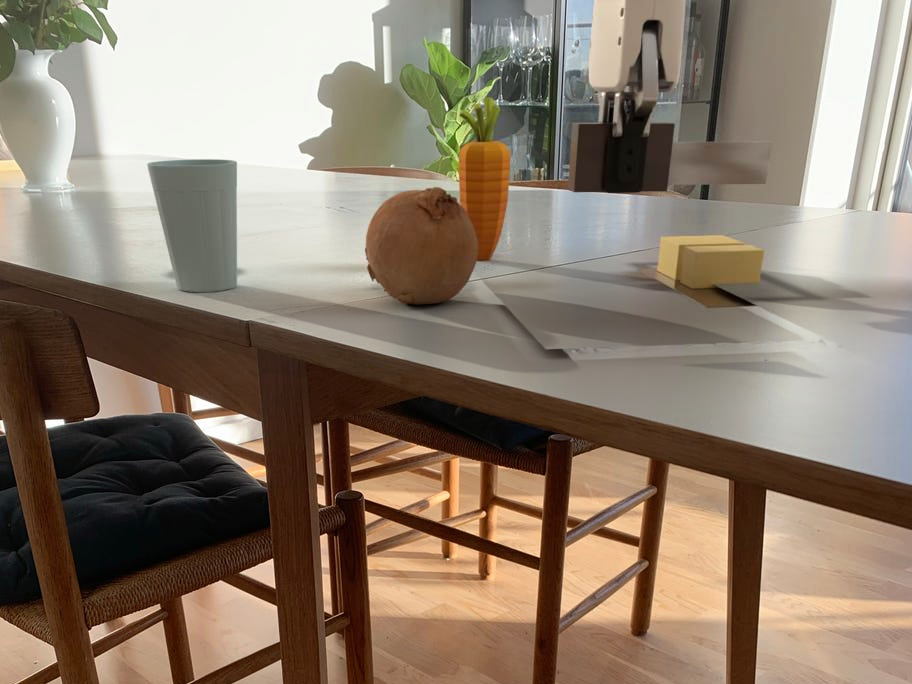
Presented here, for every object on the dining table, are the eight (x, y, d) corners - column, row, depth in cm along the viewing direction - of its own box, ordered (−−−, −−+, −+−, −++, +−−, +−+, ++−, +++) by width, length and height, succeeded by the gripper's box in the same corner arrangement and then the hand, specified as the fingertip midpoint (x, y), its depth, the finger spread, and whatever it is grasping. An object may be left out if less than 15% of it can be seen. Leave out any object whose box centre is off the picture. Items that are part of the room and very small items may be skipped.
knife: (759, 187, 82) (769, 122, 79) (769, 190, 80) (780, 123, 77) (567, 189, 80) (572, 122, 78) (573, 192, 78) (578, 123, 76)
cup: (175, 279, 91) (159, 158, 86) (255, 279, 91) (243, 158, 86) (156, 295, 85) (136, 165, 79) (241, 294, 85) (228, 165, 79)
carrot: (481, 273, 93) (484, 97, 85) (448, 267, 96) (448, 97, 88) (517, 267, 96) (523, 97, 88) (483, 262, 99) (486, 96, 91)
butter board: (726, 274, 91) (727, 266, 91) (813, 313, 76) (814, 303, 75) (635, 277, 90) (636, 268, 90) (705, 317, 75) (706, 306, 74)
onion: (459, 342, 81) (501, 235, 74) (352, 315, 78) (385, 202, 71) (452, 281, 87) (490, 177, 80) (352, 255, 84) (382, 144, 77)
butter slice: (744, 280, 84) (750, 244, 83) (758, 287, 81) (764, 249, 80) (679, 282, 83) (684, 246, 82) (691, 289, 81) (696, 251, 79)
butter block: (718, 269, 89) (723, 235, 88) (739, 278, 85) (744, 242, 84) (657, 271, 89) (660, 236, 87) (675, 280, 84) (679, 244, 83)
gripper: (733, -99, 64) (694, 200, 73) (656, -67, 77) (631, 181, 87) (625, -101, 63) (600, 201, 72) (566, -69, 77) (552, 182, 86)
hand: (617, 188), depth 79 cm, fingers closed on knife, 2 cm apart
